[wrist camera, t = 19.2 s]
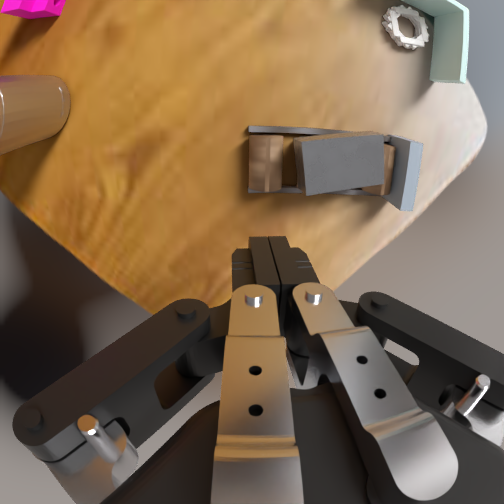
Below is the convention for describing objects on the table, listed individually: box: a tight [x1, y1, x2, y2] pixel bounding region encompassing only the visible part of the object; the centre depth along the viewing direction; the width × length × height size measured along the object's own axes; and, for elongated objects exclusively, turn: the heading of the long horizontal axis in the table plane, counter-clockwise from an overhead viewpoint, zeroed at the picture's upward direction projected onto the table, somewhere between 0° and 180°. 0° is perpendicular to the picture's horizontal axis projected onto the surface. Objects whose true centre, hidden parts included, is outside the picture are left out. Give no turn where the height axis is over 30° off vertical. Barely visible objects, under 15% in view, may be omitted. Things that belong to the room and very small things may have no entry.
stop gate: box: [382, 135, 423, 211], centre depth 35 cm, size 2×9×6 cm, turn 179°
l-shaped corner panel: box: [382, 0, 469, 84], centre depth 25 cm, size 12×12×8 cm
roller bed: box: [248, 126, 396, 196], centre depth 36 cm, size 19×8×4 cm, turn 89°
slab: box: [293, 131, 384, 196], centre depth 32 cm, size 10×6×3 cm, turn 98°
